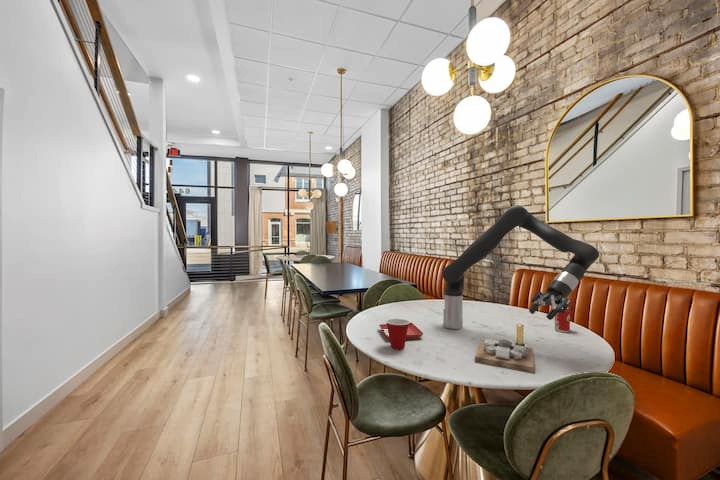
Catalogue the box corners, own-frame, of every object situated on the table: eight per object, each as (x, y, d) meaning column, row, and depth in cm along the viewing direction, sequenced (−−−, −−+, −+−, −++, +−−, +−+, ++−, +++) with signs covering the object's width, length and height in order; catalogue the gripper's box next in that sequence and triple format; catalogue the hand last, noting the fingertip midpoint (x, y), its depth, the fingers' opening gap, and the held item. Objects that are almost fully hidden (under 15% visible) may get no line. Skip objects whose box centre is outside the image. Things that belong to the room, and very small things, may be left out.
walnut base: (474, 361, 117) (474, 345, 116) (481, 344, 134) (481, 329, 134) (533, 372, 107) (534, 354, 107) (532, 352, 125) (532, 337, 125)
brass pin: (516, 355, 117) (516, 325, 117) (516, 353, 119) (516, 323, 119) (523, 356, 116) (523, 326, 116) (523, 354, 118) (523, 324, 118)
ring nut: (481, 354, 118) (481, 344, 118) (487, 342, 131) (487, 333, 131) (525, 362, 110) (525, 351, 110) (526, 348, 123) (526, 339, 123)
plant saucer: (386, 343, 138) (386, 335, 138) (378, 330, 156) (378, 324, 156) (424, 340, 141) (424, 333, 141) (411, 328, 159) (411, 322, 159)
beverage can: (572, 333, 147) (572, 309, 147) (558, 332, 149) (558, 308, 148) (566, 329, 154) (566, 306, 153) (552, 328, 155) (552, 305, 155)
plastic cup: (412, 344, 135) (411, 318, 135) (407, 353, 125) (407, 325, 125) (388, 341, 139) (388, 316, 138) (382, 350, 129) (382, 322, 128)
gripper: (542, 276, 128) (520, 305, 126) (573, 282, 114) (548, 314, 112) (553, 288, 129) (530, 316, 127) (584, 295, 115) (560, 327, 113)
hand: (539, 315), depth 119 cm, fingers open, 8 cm apart
